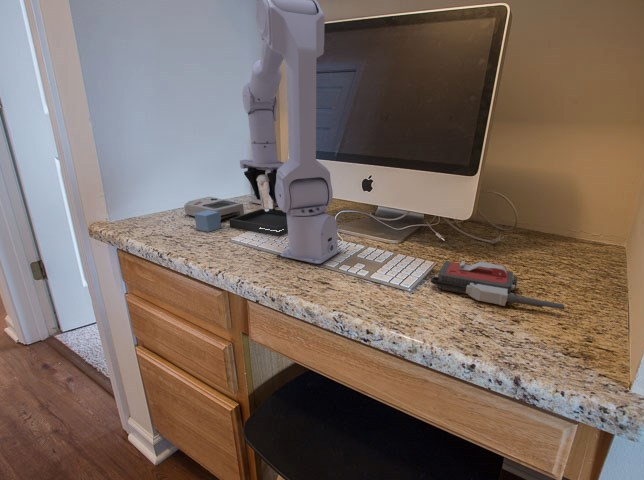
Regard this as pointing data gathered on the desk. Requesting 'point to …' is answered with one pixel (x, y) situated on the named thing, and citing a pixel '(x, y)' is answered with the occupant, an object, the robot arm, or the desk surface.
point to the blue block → (207, 220)
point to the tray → (262, 222)
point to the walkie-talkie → (484, 283)
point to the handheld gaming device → (214, 207)
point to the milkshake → (265, 194)
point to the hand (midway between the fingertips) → (269, 200)
